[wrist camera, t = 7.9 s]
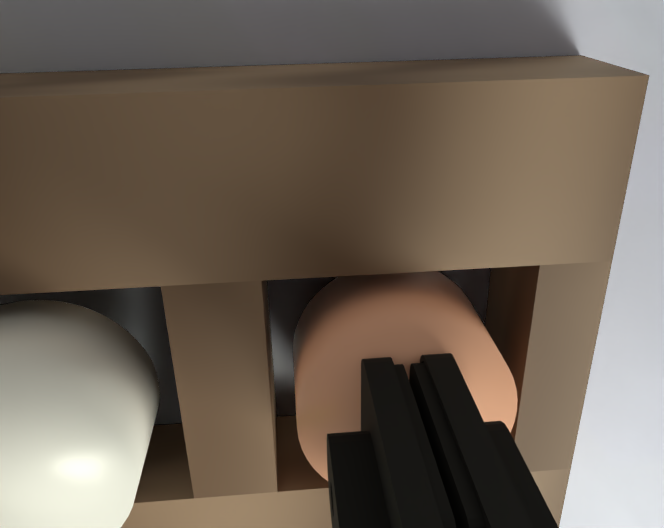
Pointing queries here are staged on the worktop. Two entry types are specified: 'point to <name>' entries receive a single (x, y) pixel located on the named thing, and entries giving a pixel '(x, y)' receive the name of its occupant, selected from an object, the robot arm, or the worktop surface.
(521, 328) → the button panel
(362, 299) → the button terracotta
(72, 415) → the white dome
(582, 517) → the worktop surface
